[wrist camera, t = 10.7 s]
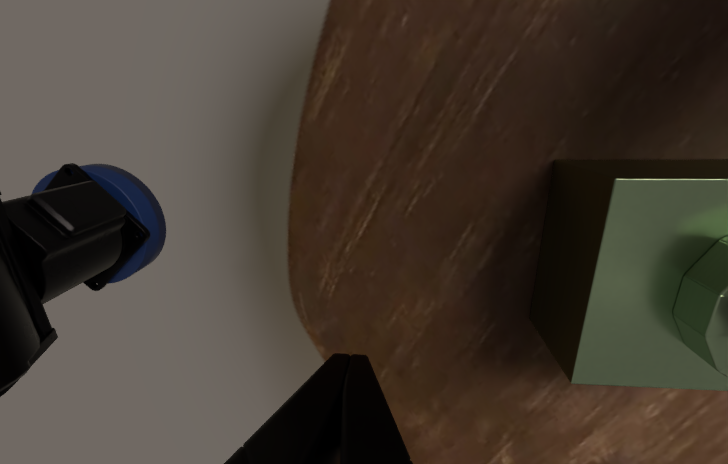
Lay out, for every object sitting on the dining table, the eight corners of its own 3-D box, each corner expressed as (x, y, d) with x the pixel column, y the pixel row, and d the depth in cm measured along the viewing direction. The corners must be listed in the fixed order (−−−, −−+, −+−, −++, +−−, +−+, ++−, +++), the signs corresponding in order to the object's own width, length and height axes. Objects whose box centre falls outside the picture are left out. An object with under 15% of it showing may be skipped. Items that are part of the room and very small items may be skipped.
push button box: (528, 319, 23) (590, 414, 16) (554, 159, 19) (645, 187, 12) (705, 324, 22) (855, 427, 15) (761, 159, 19) (987, 189, 12)
